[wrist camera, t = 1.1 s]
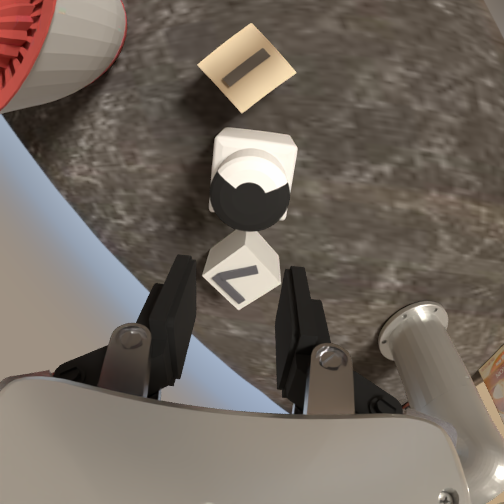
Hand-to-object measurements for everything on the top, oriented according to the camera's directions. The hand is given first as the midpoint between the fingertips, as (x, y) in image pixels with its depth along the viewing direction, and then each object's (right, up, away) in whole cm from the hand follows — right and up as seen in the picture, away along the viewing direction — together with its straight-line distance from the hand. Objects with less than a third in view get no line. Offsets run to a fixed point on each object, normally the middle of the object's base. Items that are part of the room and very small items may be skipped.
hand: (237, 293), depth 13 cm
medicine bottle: (+1, +12, +21) cm, 23 cm away
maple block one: (0, +20, +16) cm, 25 cm away
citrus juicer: (-19, +27, +12) cm, 35 cm away
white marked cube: (0, +2, +26) cm, 26 cm away
